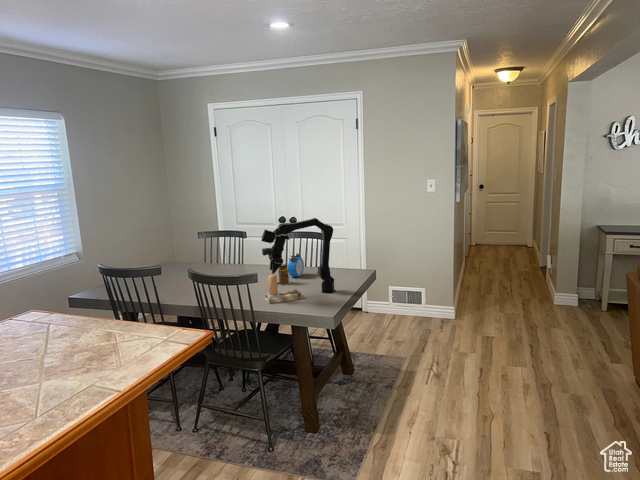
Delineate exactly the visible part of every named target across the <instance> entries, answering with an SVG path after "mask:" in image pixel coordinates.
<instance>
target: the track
mask: <svg viewBox="0 0 640 480" xmlns="http://www.w3.org/2000/svg"><path fill="white" fill-rule="evenodd" d="M278 293H279V294H280V297H276V298H268V297H267V294H264V299H265V301H266V302H267V303H268V304H275V303H281V302H287V301H288V302H289V301H295V300H300V299H303V298H304V296H303V295H302V293H301V291H299V290H297V289H292V290H288V291H282V292H281V291H280V292H278Z"/></svg>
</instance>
